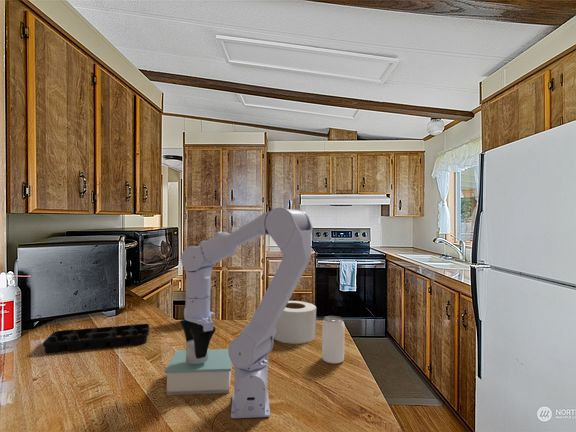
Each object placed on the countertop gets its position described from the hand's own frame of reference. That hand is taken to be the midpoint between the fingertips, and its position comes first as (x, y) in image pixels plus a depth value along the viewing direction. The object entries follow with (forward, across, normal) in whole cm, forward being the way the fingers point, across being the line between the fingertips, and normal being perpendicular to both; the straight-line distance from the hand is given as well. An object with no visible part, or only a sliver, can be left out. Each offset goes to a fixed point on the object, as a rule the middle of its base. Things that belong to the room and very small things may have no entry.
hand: (196, 353), depth 80 cm
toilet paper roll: (+8, +18, -41) cm, 46 cm away
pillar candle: (+8, +49, -18) cm, 53 cm away
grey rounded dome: (+2, 0, 0) cm, 2 cm away
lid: (+3, +2, -2) cm, 4 cm away
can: (+8, -5, -39) cm, 40 cm away
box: (+8, +2, -2) cm, 9 cm away
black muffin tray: (+9, +45, +16) cm, 48 cm away
